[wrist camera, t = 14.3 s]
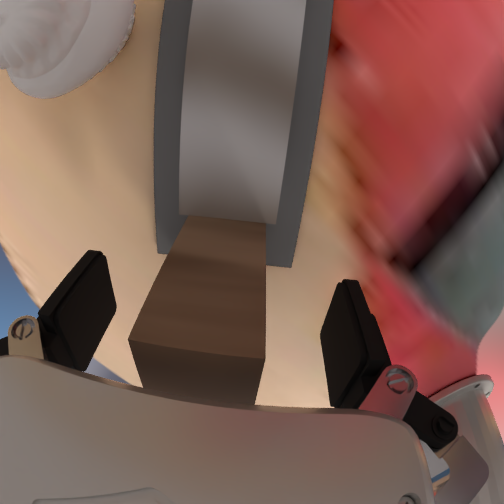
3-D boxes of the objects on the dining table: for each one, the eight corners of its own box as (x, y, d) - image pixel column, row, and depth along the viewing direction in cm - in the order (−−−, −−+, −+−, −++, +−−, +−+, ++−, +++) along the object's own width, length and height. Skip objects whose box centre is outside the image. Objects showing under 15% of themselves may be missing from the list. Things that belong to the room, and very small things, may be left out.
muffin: (70, -13, 7) (-25, -33, 1) (177, -25, 8) (108, -93, 2) (48, 92, 11) (-56, 120, 5) (147, 94, 11) (47, 112, 5)
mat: (290, 263, 15) (291, 267, 15) (159, 249, 15) (157, 253, 15) (335, -44, 7) (337, -47, 7) (178, -53, 7) (176, -56, 7)
